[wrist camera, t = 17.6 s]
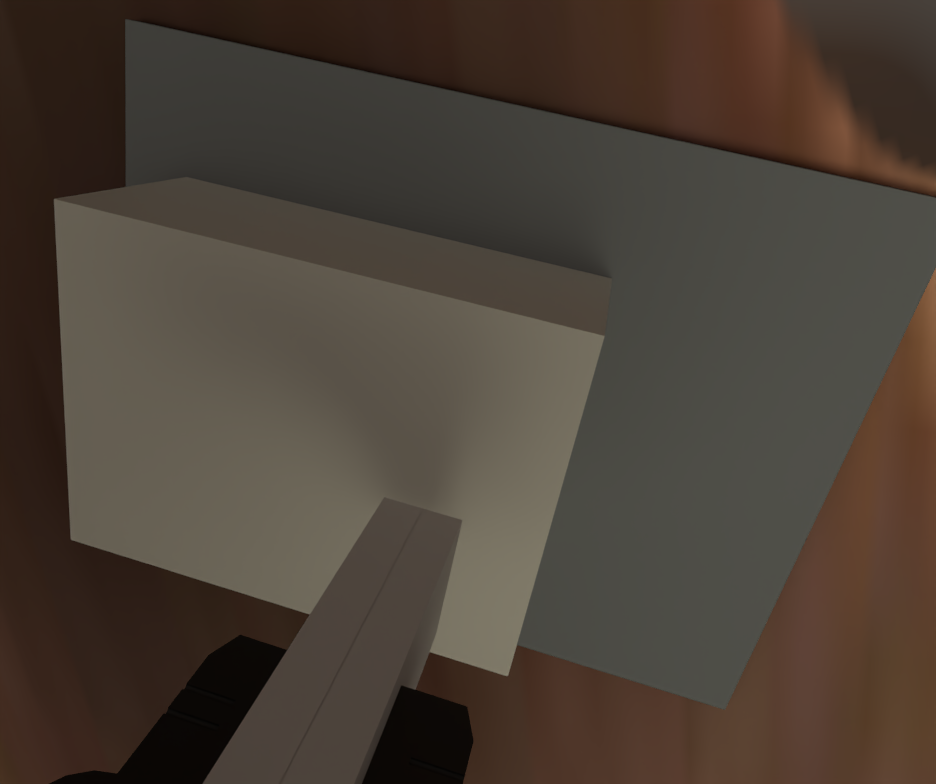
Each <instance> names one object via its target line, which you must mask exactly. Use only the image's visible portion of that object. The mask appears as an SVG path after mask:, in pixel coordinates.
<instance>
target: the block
mask: <svg viewBox="0 0 936 784" xmlns="http://www.w3.org/2000/svg"><path fill="white" fill-rule="evenodd" d="M54 212H55V232H56V252H57V272H58V292H59V313H60V333H61V353H62V373H63V393H64V413H65V433H66V454H67V474H68V494H69V514H70V534H71V540H73V541H77V542H80V543H83V544H86V545H89V546H92V547H96V548H99V549H102V550H105V551H108V552H112V553H115V554H118V555H121V556H124V557H128V558H131V559H134V560H137V561H140V562H144V563H147V564H150V565H153V566H156V567H160V568H163V569H166V570H169V571H172V572H176V573H179V574H182V575H185V576H188V577H192V578H195V579H198V580H201V581H204V582H208V583H211V584H214V585H217V586H220V587H224V588H227V589H230V590H233V591H236V592H240V593H243V594H246V595H249V596H252V597H256V598H259V599H262V600H265V601H268V602H272V603H275V604H278V605H281V606H284V607H288V608H291V609H294V610H297V611H300V612H304V613H307V614H311V612H312V610H313V609H314V607H315V606H316V604H317V602H318V601H319V599H320V598H321V596H322V595H323V593H324V591H325V590H326V588H327V587H328V585H329V584H330V582H331V580H332V579H333V577H334V576H335V574H336V572H337V571H338V569H339V568H340V566H341V565H342V563H343V561H344V560H345V558H346V557H347V555H348V554H349V552H350V550H351V549H352V547H353V546H354V544H355V543H356V541H357V539H358V538H359V536H360V535H361V533H362V531H363V530H364V528H365V527H366V525H367V524H368V522H369V520H370V519H371V517H372V516H373V514H374V513H375V511H376V509H377V508H378V506H379V505H380V503H381V501H382V500H383V498H384V497H385V498H389V499H392V500H396V501H399V502H402V503H406V504H409V505H413V506H416V507H419V508H423V509H426V510H430V511H433V512H436V513H440V514H443V515H447V516H450V517H453V518H457V519H460V520H462V525H461V529H460V533H459V538H458V542H457V546H456V551H455V555H454V559H453V564H452V568H451V572H450V576H449V581H448V585H447V589H446V594H445V598H444V602H443V607H442V611H441V615H440V620H439V624H438V628H437V633H436V636H435V639H434V641H433V644H432V647H431V649H430V652H431V653H435V654H438V655H441V656H444V657H447V658H451V659H454V660H457V661H460V662H463V663H467V664H470V665H473V666H476V667H479V668H483V669H486V670H489V671H492V672H495V673H499V674H502V675H505V676H508V674H509V671H510V667H511V664H512V660H513V657H514V653H515V649H516V646H517V642H518V639H519V635H520V632H521V628H522V625H523V621H524V618H525V614H526V611H527V607H528V604H529V600H530V597H531V593H532V590H533V586H534V583H535V579H536V576H537V572H538V569H539V565H540V562H541V558H542V555H543V551H544V548H545V544H546V541H547V537H548V534H549V530H550V527H551V523H552V520H553V516H554V512H555V509H556V505H557V502H558V498H559V495H560V491H561V488H562V484H563V481H564V477H565V474H566V470H567V467H568V463H569V460H570V456H571V453H572V449H573V446H574V442H575V439H576V435H577V432H578V428H579V425H580V421H581V418H582V414H583V411H584V407H585V404H586V400H587V397H588V393H589V390H590V386H591V383H592V379H593V376H594V372H595V368H596V365H597V361H598V358H599V354H600V351H601V347H602V344H603V340H604V337H605V330H606V322H607V314H608V306H609V298H610V290H611V283H612V278H608V277H604V276H599V275H595V274H591V273H587V272H583V271H578V270H574V269H570V268H566V267H562V266H558V265H553V264H549V263H545V262H541V261H537V260H532V259H528V258H524V257H520V256H516V255H511V254H507V253H503V252H499V251H495V250H491V249H486V248H482V247H478V246H474V245H470V244H465V243H461V242H457V241H453V240H449V239H444V238H440V237H436V236H432V235H428V234H424V233H419V232H415V231H411V230H407V229H403V228H398V227H394V226H390V225H386V224H382V223H377V222H373V221H369V220H365V219H361V218H357V217H352V216H348V215H344V214H340V213H336V212H331V211H327V210H323V209H319V208H315V207H310V206H306V205H302V204H298V203H294V202H290V201H285V200H281V199H277V198H273V197H269V196H264V195H260V194H256V193H252V192H248V191H243V190H239V189H235V188H231V187H227V186H223V185H218V184H214V183H210V182H206V181H202V180H197V179H193V178H189V177H183V178H177V179H171V180H165V181H159V182H153V183H147V184H141V185H135V186H129V187H123V188H117V189H111V190H105V191H99V192H93V193H87V194H81V195H75V196H69V197H63V198H57V199H54Z"/></svg>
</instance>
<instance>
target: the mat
mask: <svg viewBox="0 0 936 784" xmlns="http://www.w3.org/2000/svg"><path fill="white" fill-rule="evenodd" d="M125 86H126V187H129V186H135V185H141V184H147V183H153V182H159V181H165V180H171V179H177V178H183V177H189V178H193V179H197V180H202V181H206V182H210V183H214V184H218V185H223V186H227V187H231V188H235V189H239V190H243V191H248V192H252V193H256V194H260V195H264V196H269V197H273V198H277V199H281V200H285V201H290V202H294V203H298V204H302V205H306V206H310V207H315V208H319V209H323V210H327V211H331V212H336V213H340V214H344V215H348V216H352V217H357V218H361V219H365V220H369V221H373V222H377V223H382V224H386V225H390V226H394V227H398V228H403V229H407V230H411V231H415V232H419V233H424V234H428V235H432V236H436V237H440V238H444V239H449V240H453V241H457V242H461V243H465V244H470V245H474V246H478V247H482V248H486V249H491V250H495V251H499V252H503V253H507V254H511V255H516V256H520V257H524V258H528V259H532V260H537V261H541V262H545V263H549V264H553V265H558V266H562V267H566V268H570V269H574V270H578V271H583V272H587V273H591V274H595V275H599V276H604V277H608V278H612V283H611V290H610V298H609V306H608V314H607V322H606V330H605V337H604V340H603V344H602V347H601V351H600V354H599V358H598V361H597V365H596V368H595V372H594V376H593V379H592V383H591V386H590V390H589V393H588V397H587V400H586V404H585V407H584V411H583V414H582V418H581V421H580V425H579V428H578V432H577V435H576V439H575V442H574V446H573V449H572V453H571V456H570V460H569V463H568V467H567V470H566V474H565V477H564V481H563V484H562V488H561V491H560V495H559V498H558V502H557V505H556V509H555V512H554V516H553V520H552V523H551V527H550V530H549V534H548V537H547V541H546V544H545V548H544V551H543V555H542V558H541V562H540V565H539V569H538V572H537V576H536V579H535V583H534V586H533V590H532V593H531V597H530V600H529V604H528V607H527V611H526V614H525V618H524V621H523V625H522V628H521V632H520V635H519V639H518V642H517V645H519V646H522V647H526V648H529V649H532V650H535V651H538V652H542V653H545V654H548V655H551V656H554V657H558V658H561V659H564V660H567V661H570V662H574V663H577V664H580V665H583V666H586V667H590V668H593V669H596V670H599V671H602V672H606V673H609V674H612V675H615V676H618V677H622V678H625V679H628V680H631V681H634V682H638V683H641V684H644V685H647V686H650V687H654V688H657V689H660V690H663V691H666V692H670V693H673V694H676V695H679V696H682V697H686V698H689V699H692V700H695V701H698V702H702V703H705V704H708V705H711V706H714V707H718V708H721V709H724V710H725V708H726V706H727V704H728V702H729V700H730V698H731V696H732V694H733V692H734V690H735V687H736V685H737V683H738V681H739V679H740V677H741V675H742V673H743V671H744V669H745V666H746V664H747V662H748V660H749V658H750V656H751V654H752V652H753V650H754V648H755V645H756V643H757V641H758V639H759V637H760V635H761V633H762V631H763V629H764V627H765V625H766V622H767V620H768V618H769V616H770V614H771V612H772V610H773V608H774V606H775V604H776V601H777V599H778V597H779V595H780V593H781V591H782V589H783V587H784V585H785V583H786V580H787V578H788V576H789V574H790V572H791V570H792V568H793V566H794V564H795V562H796V560H797V557H798V555H799V553H800V551H801V549H802V547H803V545H804V543H805V541H806V539H807V536H808V534H809V532H810V530H811V528H812V526H813V524H814V522H815V520H816V518H817V515H818V513H819V511H820V509H821V507H822V505H823V503H824V501H825V499H826V497H827V494H828V492H829V490H830V488H831V486H832V484H833V482H834V480H835V478H836V476H837V474H838V471H839V469H840V467H841V465H842V463H843V461H844V459H845V457H846V455H847V453H848V450H849V448H850V446H851V444H852V442H853V440H854V438H855V436H856V434H857V432H858V429H859V427H860V425H861V423H862V421H863V419H864V417H865V415H866V413H867V411H868V408H869V406H870V404H871V402H872V400H873V398H874V396H875V394H876V392H877V390H878V388H879V385H880V383H881V381H882V379H883V377H884V375H885V373H886V371H887V369H888V367H889V364H890V362H891V360H892V358H893V356H894V354H895V352H896V350H897V348H898V346H899V343H900V341H901V339H902V337H903V335H904V333H905V331H906V329H907V327H908V325H909V323H910V320H911V318H912V316H913V314H914V312H915V310H916V308H917V306H918V304H919V302H920V299H921V297H922V295H923V293H924V291H925V289H926V287H927V285H928V283H929V281H930V278H931V276H932V274H933V272H934V270H935V268H936V197H934V196H929V195H925V194H920V193H915V192H911V191H906V190H902V189H897V188H893V187H888V186H884V185H879V184H875V183H870V182H866V181H861V180H857V179H852V178H847V177H843V176H838V175H834V174H829V173H825V172H820V171H816V170H811V169H807V168H802V167H798V166H793V165H789V164H784V163H779V162H775V161H770V160H766V159H761V158H757V157H752V156H748V155H743V154H739V153H734V152H730V151H725V150H720V149H716V148H711V147H707V146H702V145H698V144H693V143H689V142H684V141H680V140H675V139H671V138H666V137H662V136H657V135H652V134H648V133H643V132H639V131H634V130H630V129H625V128H621V127H616V126H612V125H607V124H603V123H598V122H594V121H589V120H584V119H580V118H575V117H571V116H566V115H562V114H557V113H553V112H548V111H544V110H539V109H535V108H530V107H525V106H521V105H516V104H512V103H507V102H503V101H498V100H494V99H489V98H485V97H480V96H476V95H471V94H467V93H462V92H457V91H453V90H448V89H444V88H439V87H435V86H430V85H426V84H421V83H417V82H412V81H408V80H403V79H398V78H394V77H389V76H385V75H380V74H376V73H371V72H367V71H362V70H358V69H353V68H349V67H344V66H340V65H335V64H330V63H326V62H321V61H317V60H312V59H308V58H303V57H299V56H294V55H290V54H285V53H281V52H276V51H272V50H267V49H262V48H258V47H253V46H249V45H244V44H240V43H235V42H231V41H226V40H222V39H217V38H213V37H208V36H203V35H199V34H194V33H190V32H185V31H181V30H176V29H172V28H167V27H163V26H158V25H154V24H149V23H145V22H140V21H134V20H128V19H125Z"/></svg>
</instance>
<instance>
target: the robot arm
mask: <svg viewBox="0 0 936 784" xmlns="http://www.w3.org/2000/svg"><path fill="white" fill-rule="evenodd" d="M461 525H462V520H460V519H457V518H453V517H450V516H447V515H443V514H440V513H436V512H433V511H430V510H426V509H423V508H419V507H416V506H413V505H409V504H406V503H402V502H399V501H396V500H392V499H389V498H385V497H384V498H383V500H382V501H381V503H380V505H379V506H378V508H377V509H376V511H375V513H374V514H373V516H372V517H371V519H370V520H369V522H368V524H367V525H366V527H365V528H364V530H363V531H362V533H361V535H360V536H359V538H358V539H357V541H356V543H355V544H354V546H353V547H352V549H351V550H350V552H349V554H348V555H347V557H346V558H345V560H344V561H343V563H342V565H341V566H340V568H339V569H338V571H337V572H336V574H335V576H334V577H333V579H332V580H331V582H330V584H329V585H328V587H327V588H326V590H325V591H324V593H323V595H322V596H321V598H320V599H319V601H318V602H317V604H316V606H315V607H314V609H313V610H312V612H311V614H310V615H309V617H308V618H307V620H306V621H305V623H304V625H303V626H302V628H301V629H300V631H299V632H298V634H297V636H296V637H295V639H294V640H293V642H292V643H291V645H290V647H289V648H288V650H285V649H282V648H279V647H276V646H273V645H270V644H267V643H264V642H260V641H257V640H254V639H251V638H248V637H245V636H242V635H239V636H238V637H236V638H235V639H233V640H231V641H230V642H228V643H227V644H225V645H224V646H222V647H221V648H219V649H217V650H216V651H214V652H213V653H211V654H210V655H208V657H207V658H206V659H205V661H204V662H203V663H202V664H201V666H200V667H199V668H198V670H197V671H196V672H195V674H194V675H193V676H192V677H191V679H190V680H189V681H188V683H187V685H186V688H185V689H184V690H183V689H182V690H181V692H180V693H179V694H178V696H177V697H176V698H175V699H174V701H173V702H172V703H171V705H170V706H169V707H168V711H167V712H166V714H163V715H162V716H161V718H160V719H159V720H158V722H157V723H156V724H155V725H154V727H153V728H152V729H151V731H150V732H149V733H148V735H147V736H146V737H145V738H144V740H143V741H142V742H141V744H140V745H139V746H138V748H137V749H136V750H135V751H134V753H133V754H132V755H131V757H130V758H129V759H128V761H127V762H126V763H125V764H124V766H123V767H122V768H121V770H120V771H119V772H118V773H117V774H115V773H108V772H101V771H89V772H83V773H78V774H72V775H67V776H64V777H62V778H60V779H58V780H56V781H54V782H52V783H50V784H463V780H464V776H465V772H466V768H467V764H468V760H469V756H470V752H471V748H472V744H473V736H472V731H471V725H470V720H469V715H468V710H467V707H466V706H463V705H460V704H457V703H454V702H451V701H448V700H445V699H442V698H439V697H436V696H433V695H430V694H427V693H424V692H420V691H417V690H416V687H417V684H418V682H419V679H420V676H421V673H422V671H423V668H424V665H425V663H426V660H427V657H428V655H429V652H430V649H431V647H432V644H433V641H434V639H435V636H436V633H437V628H438V624H439V620H440V615H441V611H442V607H443V602H444V598H445V594H446V589H447V585H448V581H449V576H450V572H451V568H452V564H453V559H454V555H455V551H456V546H457V542H458V538H459V533H460V529H461Z"/></svg>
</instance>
